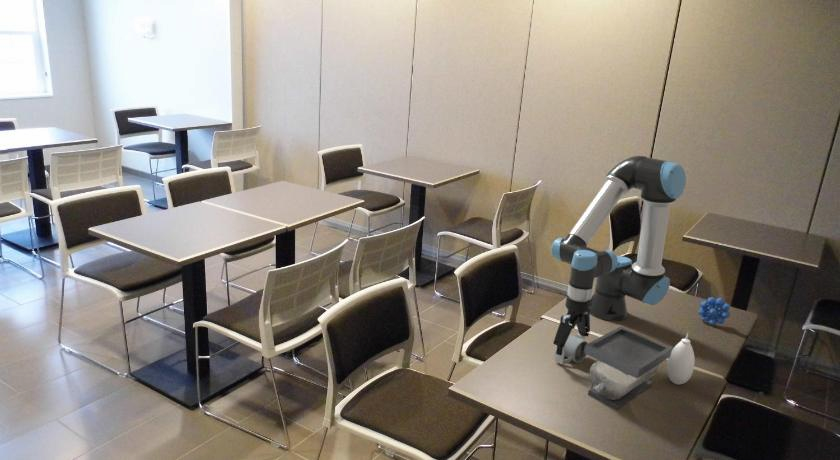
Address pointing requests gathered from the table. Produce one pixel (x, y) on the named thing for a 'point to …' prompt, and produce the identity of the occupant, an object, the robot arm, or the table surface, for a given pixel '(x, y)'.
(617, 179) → the robot arm
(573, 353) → the ceramic mug
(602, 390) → the grey piece
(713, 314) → the grapes
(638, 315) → the table surface
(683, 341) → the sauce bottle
